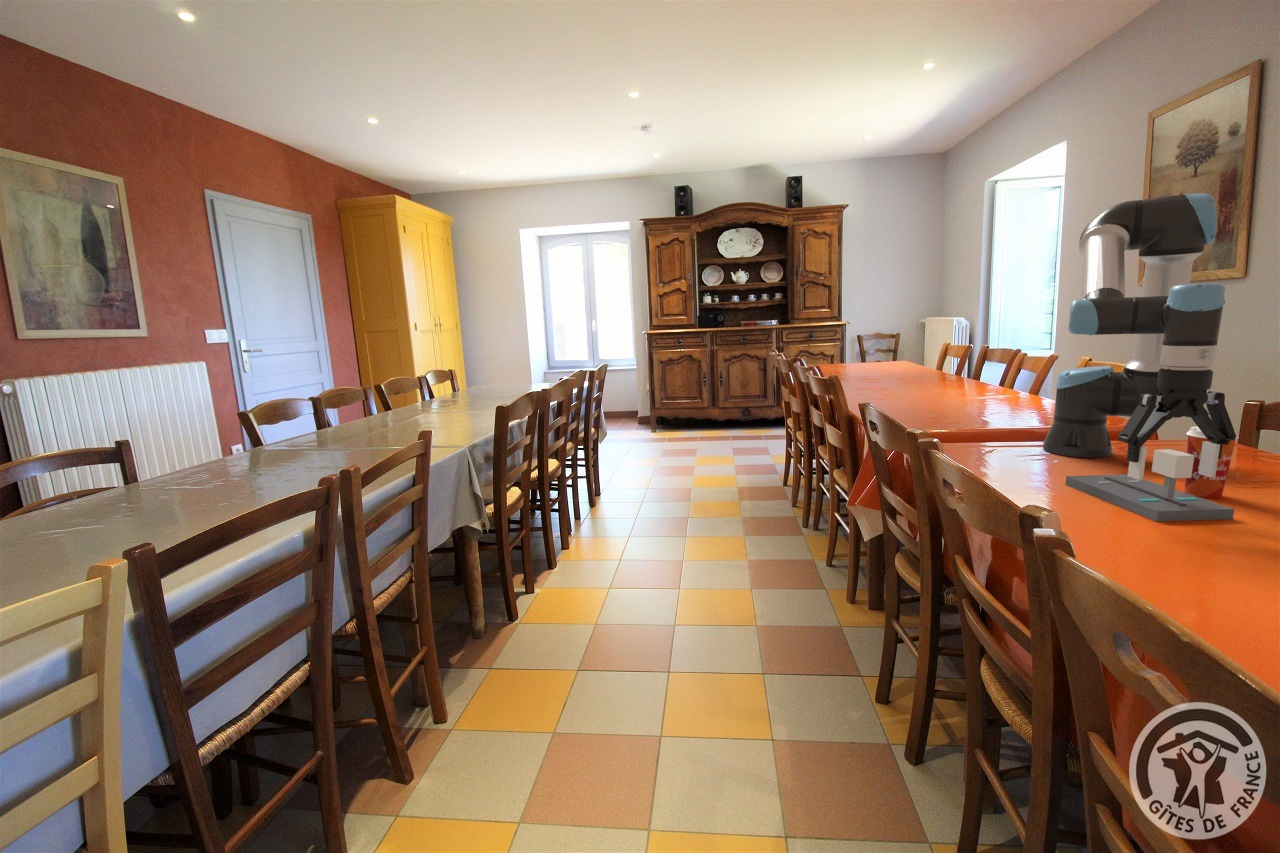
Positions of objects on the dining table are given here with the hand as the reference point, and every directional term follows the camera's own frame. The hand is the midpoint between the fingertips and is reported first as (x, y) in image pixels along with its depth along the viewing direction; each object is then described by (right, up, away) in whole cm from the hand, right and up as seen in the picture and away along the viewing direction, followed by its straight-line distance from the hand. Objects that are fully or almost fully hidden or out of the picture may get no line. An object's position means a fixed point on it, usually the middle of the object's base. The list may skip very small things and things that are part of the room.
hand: (1170, 476), depth 112 cm
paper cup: (+15, -5, +9) cm, 18 cm away
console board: (0, -5, +7) cm, 9 cm away
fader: (0, -4, +1) cm, 4 cm away
